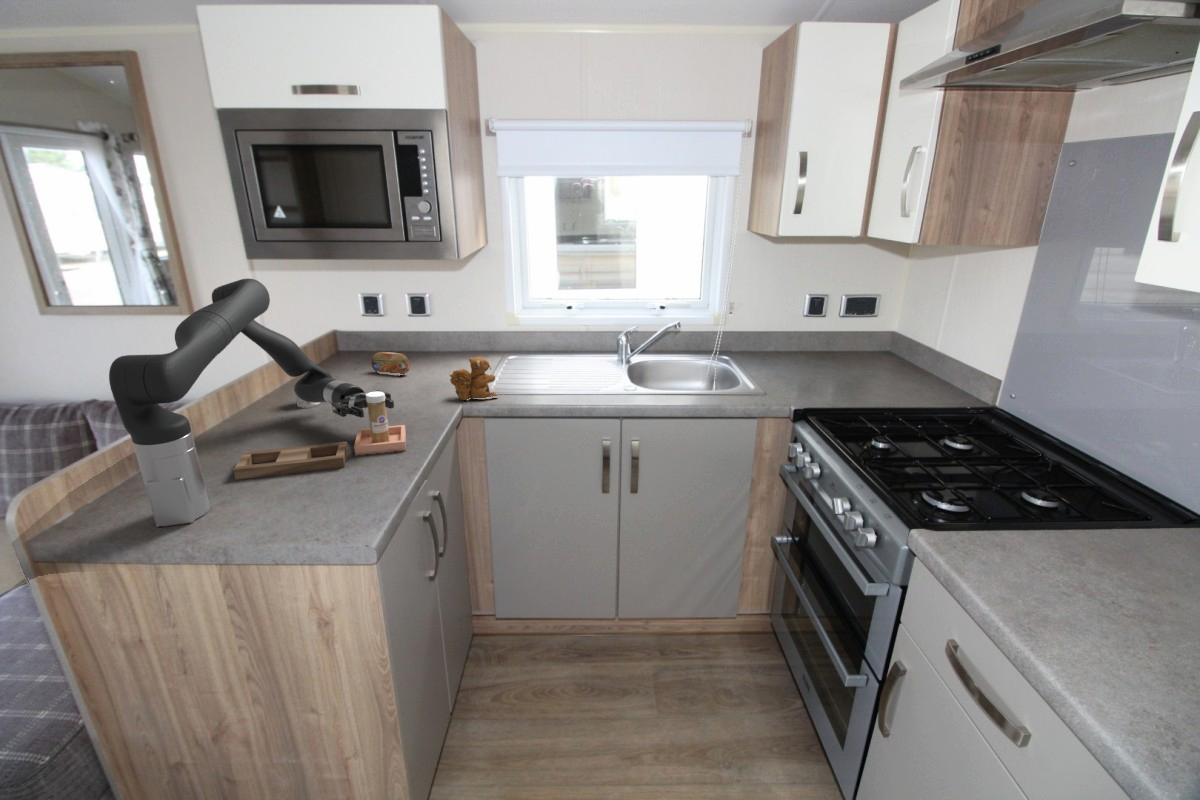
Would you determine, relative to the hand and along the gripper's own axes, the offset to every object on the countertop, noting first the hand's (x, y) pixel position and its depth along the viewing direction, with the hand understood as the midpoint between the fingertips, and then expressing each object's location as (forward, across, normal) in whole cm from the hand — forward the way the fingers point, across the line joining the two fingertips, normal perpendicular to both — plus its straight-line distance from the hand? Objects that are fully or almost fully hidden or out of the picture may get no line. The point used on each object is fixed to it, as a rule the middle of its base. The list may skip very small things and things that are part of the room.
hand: (377, 409), depth 146 cm
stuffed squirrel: (-10, +40, +10) cm, 43 cm away
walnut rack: (-5, -20, +10) cm, 23 cm away
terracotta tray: (0, 0, +10) cm, 10 cm away
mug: (-45, +5, +10) cm, 47 cm away
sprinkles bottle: (0, 0, +9) cm, 9 cm away
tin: (-54, +38, +10) cm, 67 cm away
